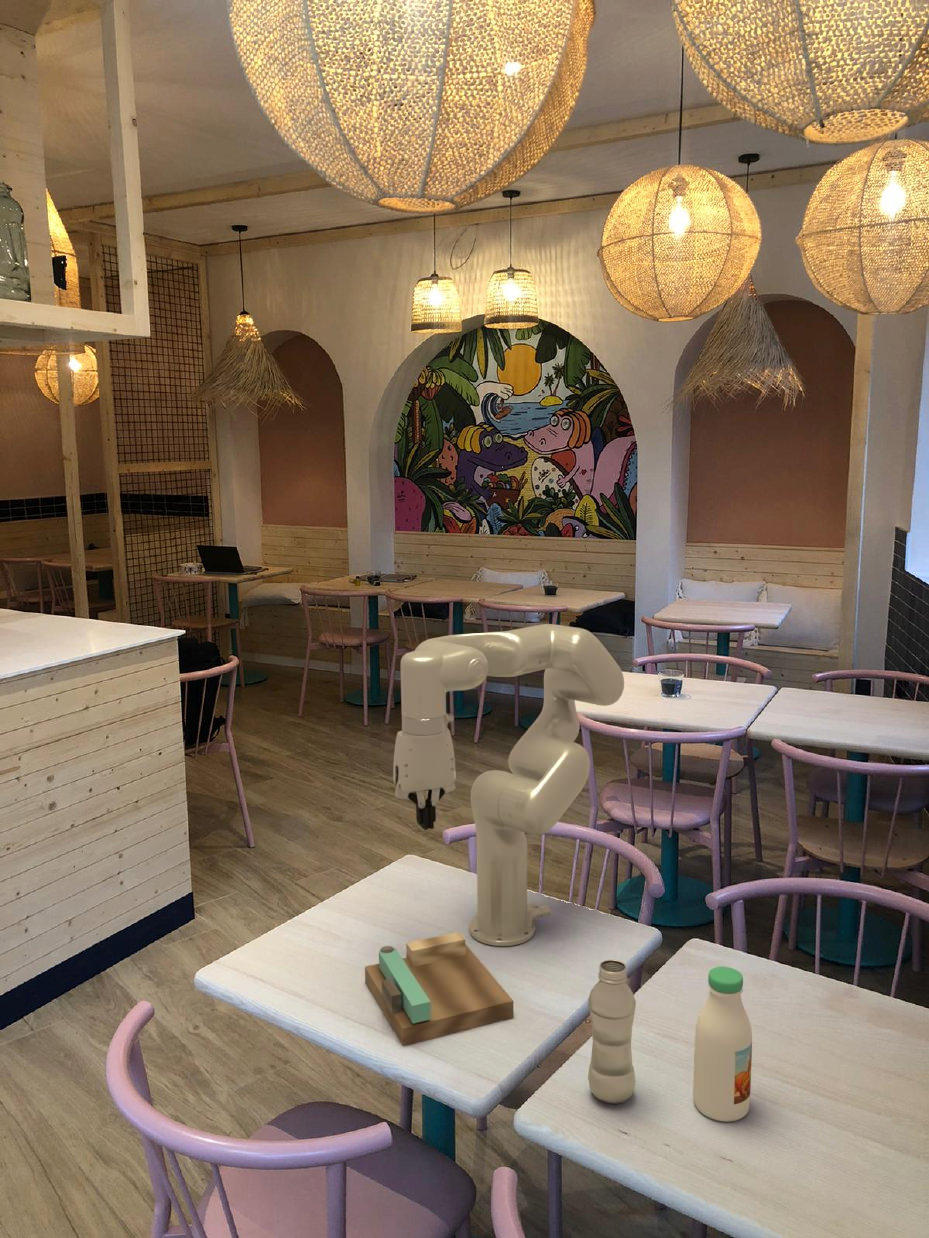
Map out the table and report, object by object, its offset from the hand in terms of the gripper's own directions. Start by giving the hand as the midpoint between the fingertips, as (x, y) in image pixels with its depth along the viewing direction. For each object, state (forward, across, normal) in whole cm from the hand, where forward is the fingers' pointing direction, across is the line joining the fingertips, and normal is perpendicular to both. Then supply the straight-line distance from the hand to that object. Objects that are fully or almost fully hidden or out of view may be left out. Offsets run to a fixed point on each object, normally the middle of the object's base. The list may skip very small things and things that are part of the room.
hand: (426, 826), depth 169 cm
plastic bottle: (+27, -12, +42) cm, 52 cm away
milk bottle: (+27, -25, +50) cm, 62 cm away
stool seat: (+27, +2, +9) cm, 29 cm away
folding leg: (+24, +8, +9) cm, 27 cm away
